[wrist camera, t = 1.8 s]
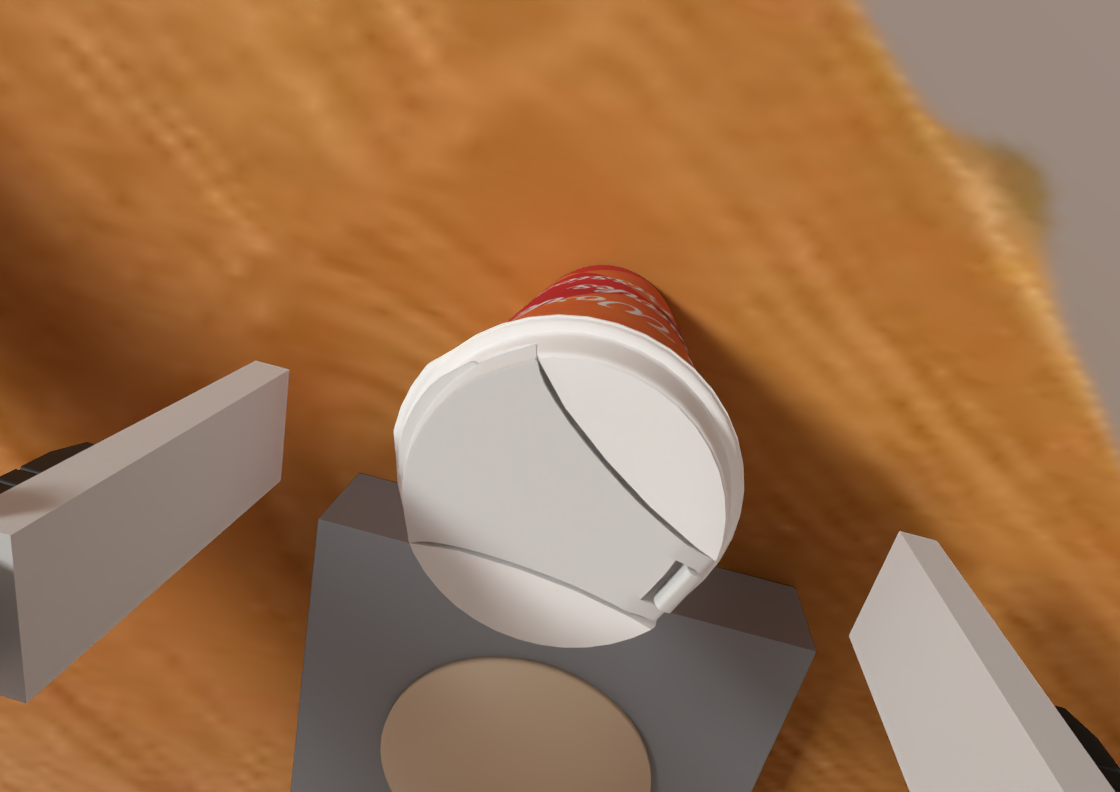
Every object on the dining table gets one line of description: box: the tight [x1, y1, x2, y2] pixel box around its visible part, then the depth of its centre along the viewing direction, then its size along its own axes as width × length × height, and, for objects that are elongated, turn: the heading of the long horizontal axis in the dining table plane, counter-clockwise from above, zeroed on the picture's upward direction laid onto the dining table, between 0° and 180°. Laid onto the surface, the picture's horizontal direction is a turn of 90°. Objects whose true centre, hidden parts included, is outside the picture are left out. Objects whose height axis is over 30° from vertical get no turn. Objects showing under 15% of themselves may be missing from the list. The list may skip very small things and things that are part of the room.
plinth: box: [290, 473, 817, 792], centre depth 31 cm, size 20×20×4 cm
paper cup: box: [394, 265, 744, 648], centre depth 20 cm, size 8×8×14 cm
